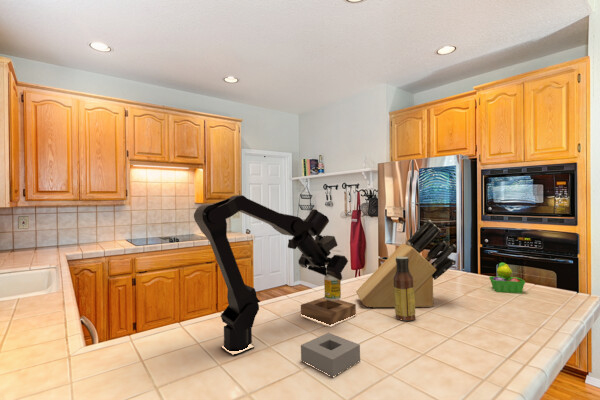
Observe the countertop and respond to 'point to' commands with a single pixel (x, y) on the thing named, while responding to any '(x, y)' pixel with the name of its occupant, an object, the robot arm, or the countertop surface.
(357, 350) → the grey narrow collar
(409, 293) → the sauce bottle
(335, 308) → the walnut sleeve block
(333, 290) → the supplement bottle
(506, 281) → the fruit basket
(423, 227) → the knife block
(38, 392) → the countertop surface
